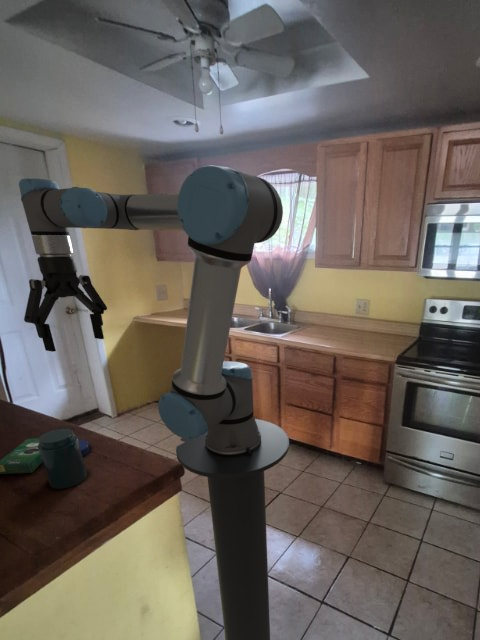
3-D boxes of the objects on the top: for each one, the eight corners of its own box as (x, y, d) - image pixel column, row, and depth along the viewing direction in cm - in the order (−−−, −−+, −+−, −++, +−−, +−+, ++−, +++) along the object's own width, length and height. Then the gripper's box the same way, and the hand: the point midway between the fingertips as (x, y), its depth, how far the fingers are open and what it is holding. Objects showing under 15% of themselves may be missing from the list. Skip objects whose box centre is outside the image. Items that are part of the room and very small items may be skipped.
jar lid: (66, 445, 100) (64, 439, 100) (95, 445, 100) (93, 439, 100) (48, 461, 93) (46, 455, 92) (79, 461, 93) (78, 455, 92)
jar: (93, 476, 88) (82, 433, 83) (60, 493, 82) (46, 447, 77) (76, 466, 91) (64, 424, 87) (43, 481, 85) (29, 437, 81)
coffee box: (28, 447, 100) (-3, 475, 87) (25, 438, 98) (-7, 465, 86) (60, 446, 100) (33, 473, 88) (57, 436, 99) (30, 463, 87)
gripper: (91, 254, 99) (107, 332, 107) (-14, 257, 78) (16, 354, 86) (111, 254, 96) (126, 335, 104) (8, 258, 75) (37, 358, 83)
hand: (76, 344), depth 95 cm, fingers open, 13 cm apart
